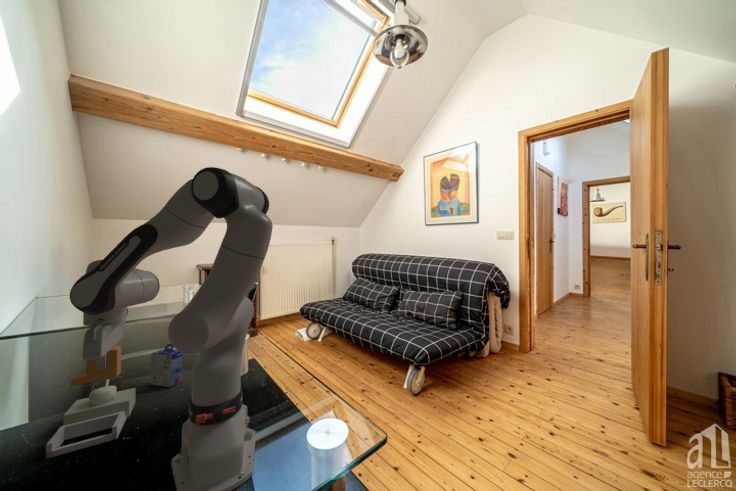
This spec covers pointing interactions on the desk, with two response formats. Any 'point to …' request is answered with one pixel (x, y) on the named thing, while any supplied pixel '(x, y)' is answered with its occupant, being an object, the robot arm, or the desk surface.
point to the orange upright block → (103, 374)
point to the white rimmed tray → (93, 419)
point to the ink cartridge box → (166, 367)
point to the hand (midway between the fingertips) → (105, 364)
